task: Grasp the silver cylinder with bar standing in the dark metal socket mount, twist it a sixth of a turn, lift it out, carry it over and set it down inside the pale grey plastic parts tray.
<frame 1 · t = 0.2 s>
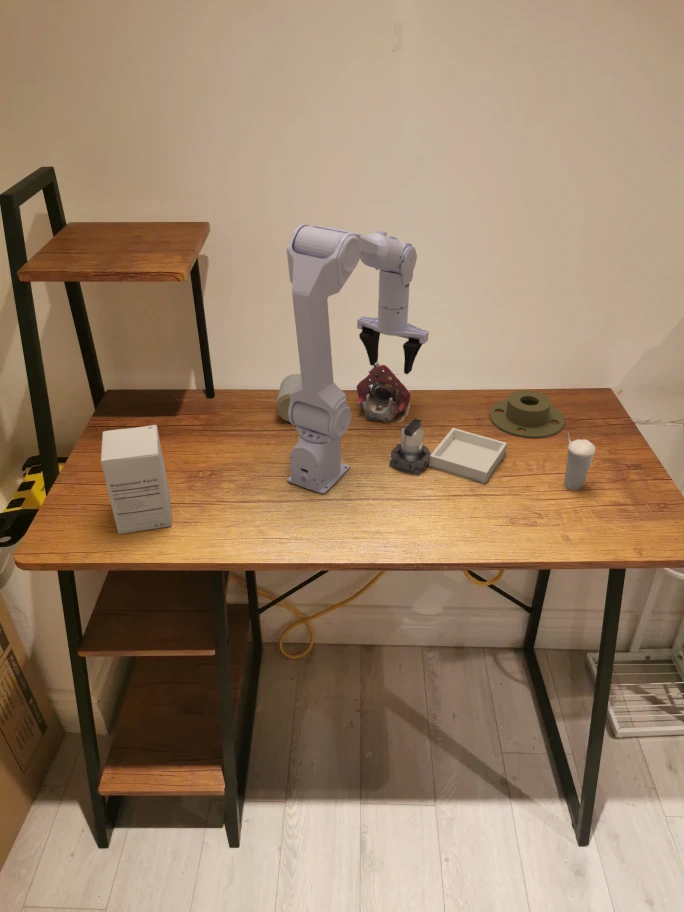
hand: (390, 367, 145), 10 cm above the table, tool pointing down, fingers open, 7 cm apart
ceramic mug: (303, 415, 150), on the table
brake caliper: (382, 412, 150), on the table
bin: (467, 460, 136), on the table
milkshake: (571, 485, 129), on the table
silver cylinder with bar: (410, 458, 134), point 1 cm above the table, touching stud mount
flange: (526, 421, 148), on the table
stud mount: (410, 462, 135), on the table
supplement box: (144, 515, 123), on the table
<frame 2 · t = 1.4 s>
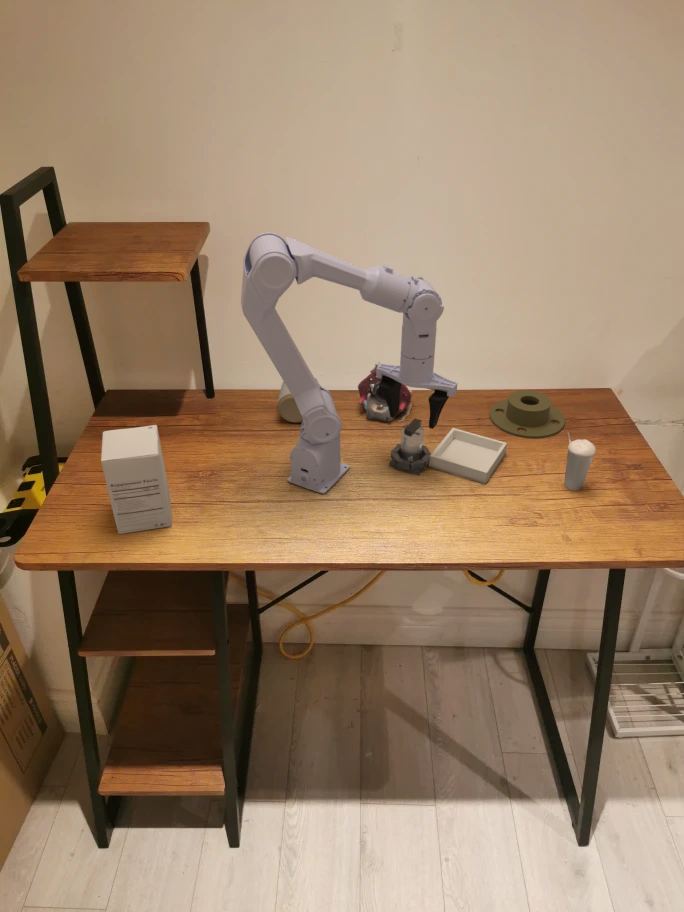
hand: (413, 420, 130), 9 cm above the table, tool pointing down, fingers open, 7 cm apart
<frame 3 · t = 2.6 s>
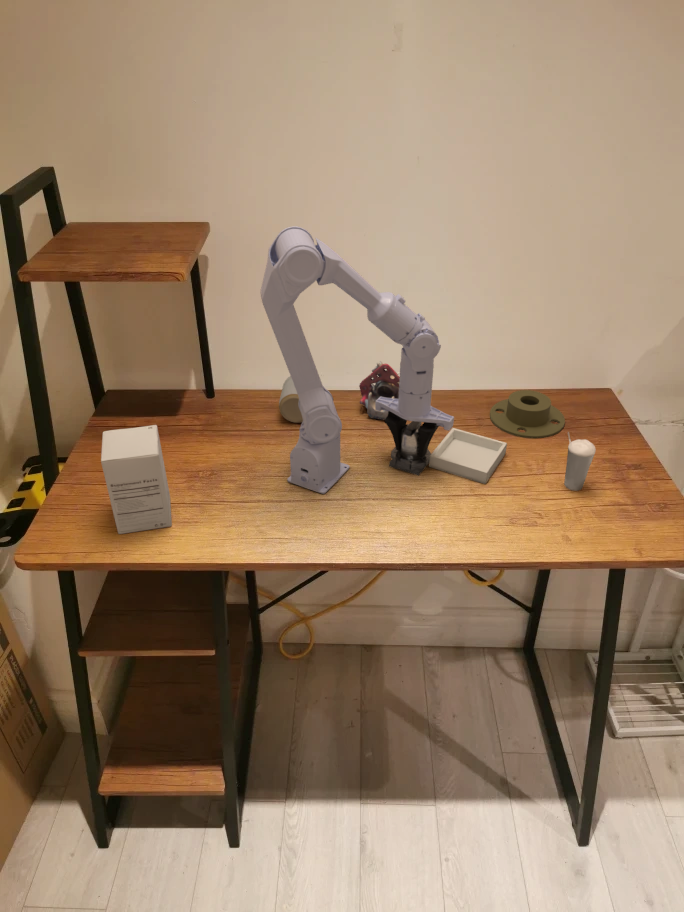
hand: (411, 451, 133), 3 cm above the table, tool pointing down, fingers closed on silver cylinder with bar, 4 cm apart
silver cylinder with bar: (410, 458, 134), point 1 cm above the table, touching gripper, stud mount
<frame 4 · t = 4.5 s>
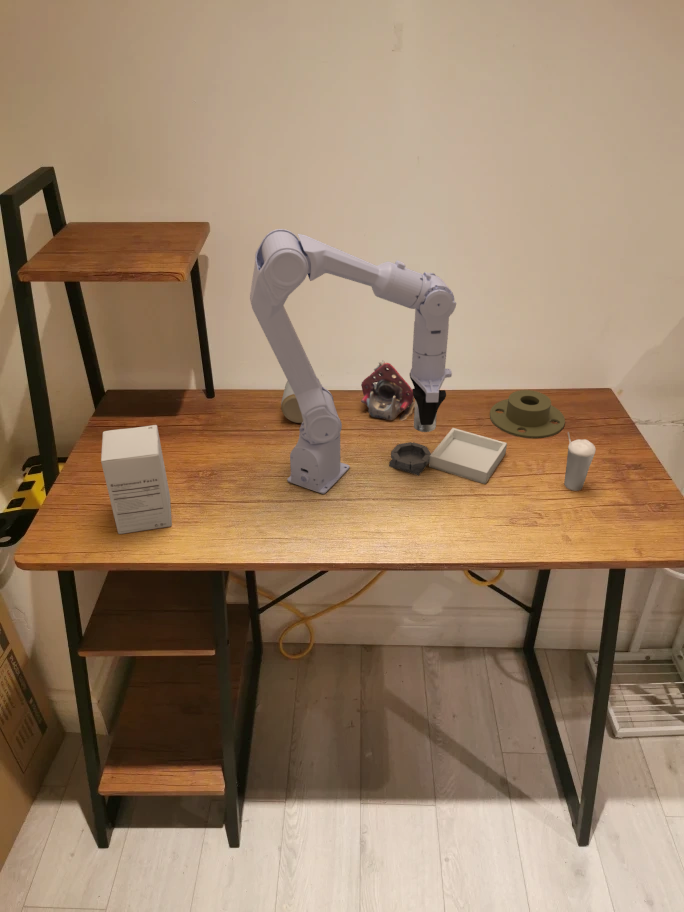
hand: (425, 417, 129), 10 cm above the table, tool pointing down, fingers closed on silver cylinder with bar, 4 cm apart
silver cylinder with bar: (424, 426, 130), point 8 cm above the table, touching gripper
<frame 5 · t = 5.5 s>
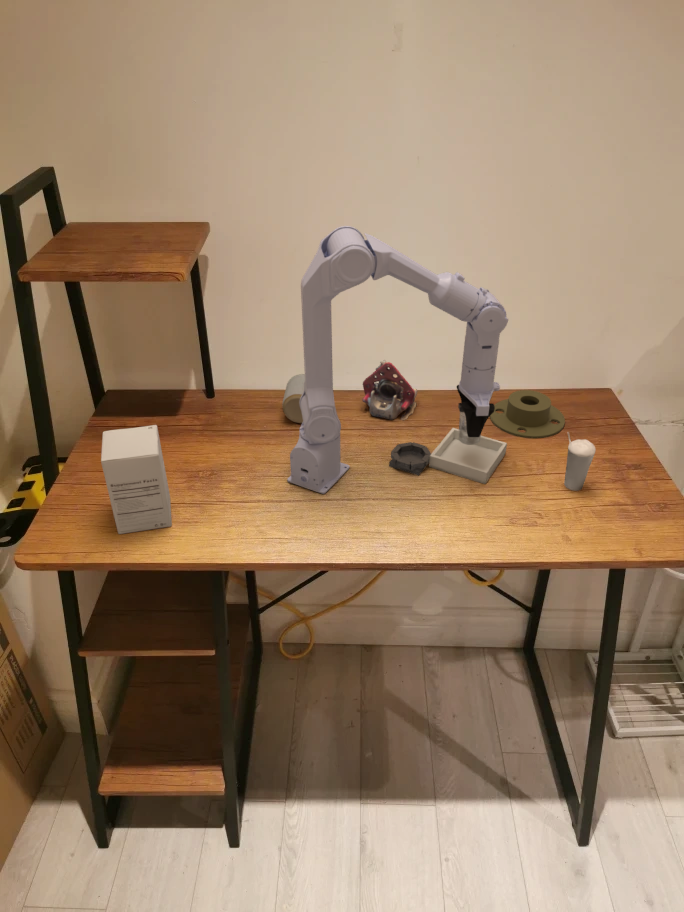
hand: (471, 429, 132), 7 cm above the table, tool pointing down, fingers closed on silver cylinder with bar, 4 cm apart
silver cylinder with bar: (469, 438, 133), point 5 cm above the table, touching gripper
when the fingers open (4 cm above the table, at t = 6.3 s): silver cylinder with bar drops 2 cm, resting on bin.
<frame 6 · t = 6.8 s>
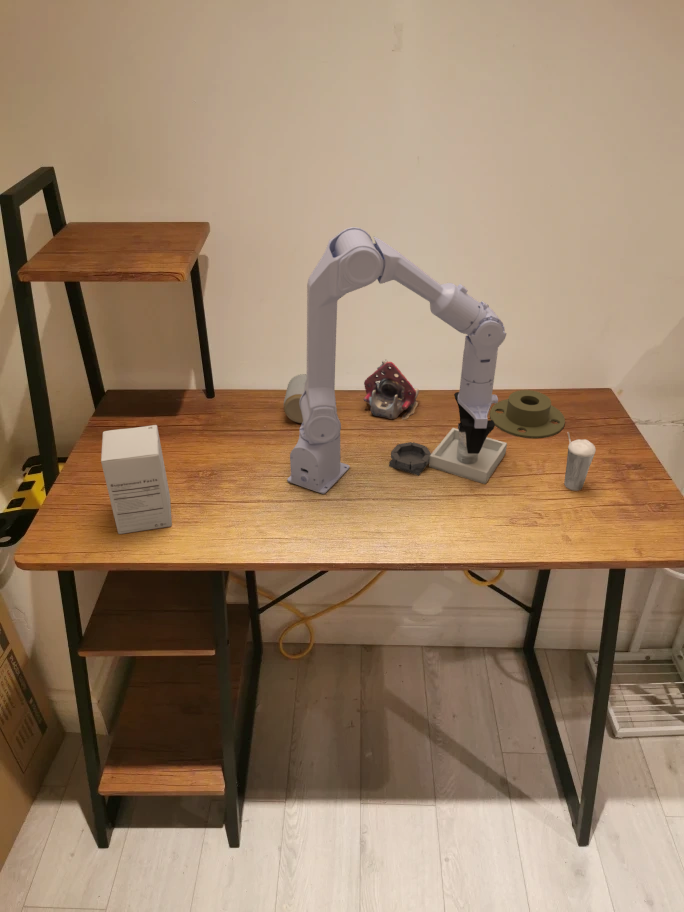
hand: (470, 440, 133), 4 cm above the table, tool pointing down, fingers open, 7 cm apart
silver cylinder with bar: (467, 458, 135), resting on bin
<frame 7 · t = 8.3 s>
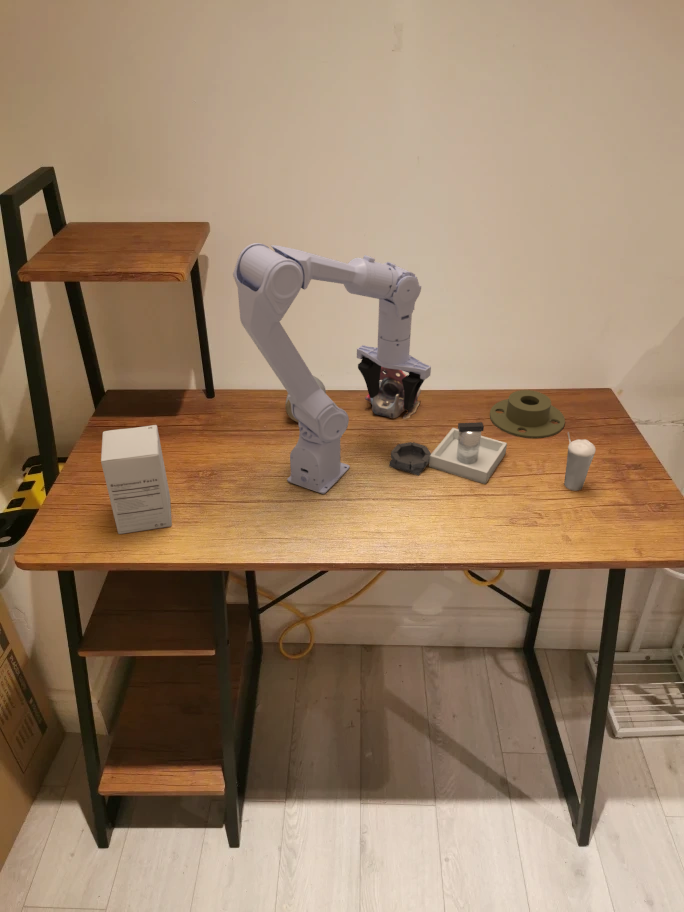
hand: (391, 401, 134), 10 cm above the table, tool pointing down, fingers open, 7 cm apart
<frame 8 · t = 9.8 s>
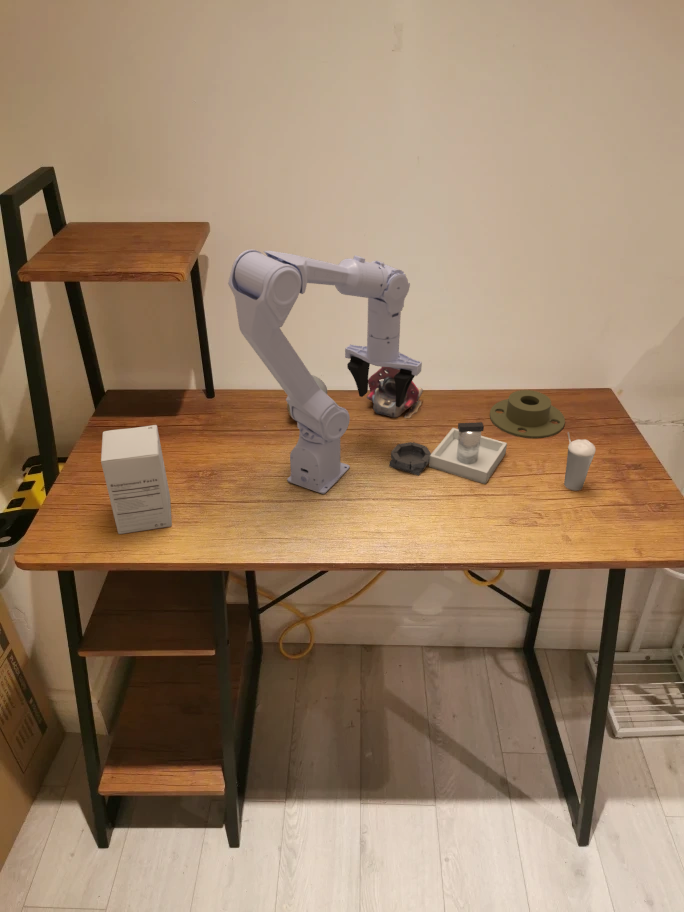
hand: (381, 399, 135), 10 cm above the table, tool pointing down, fingers open, 7 cm apart
at the end: silver cylinder with bar inside the target area on the bin (0.1 cm from its centre), point 0.5 cm above the bin's base; the gripper is holding nothing; silver cylinder with bar touching bin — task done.
